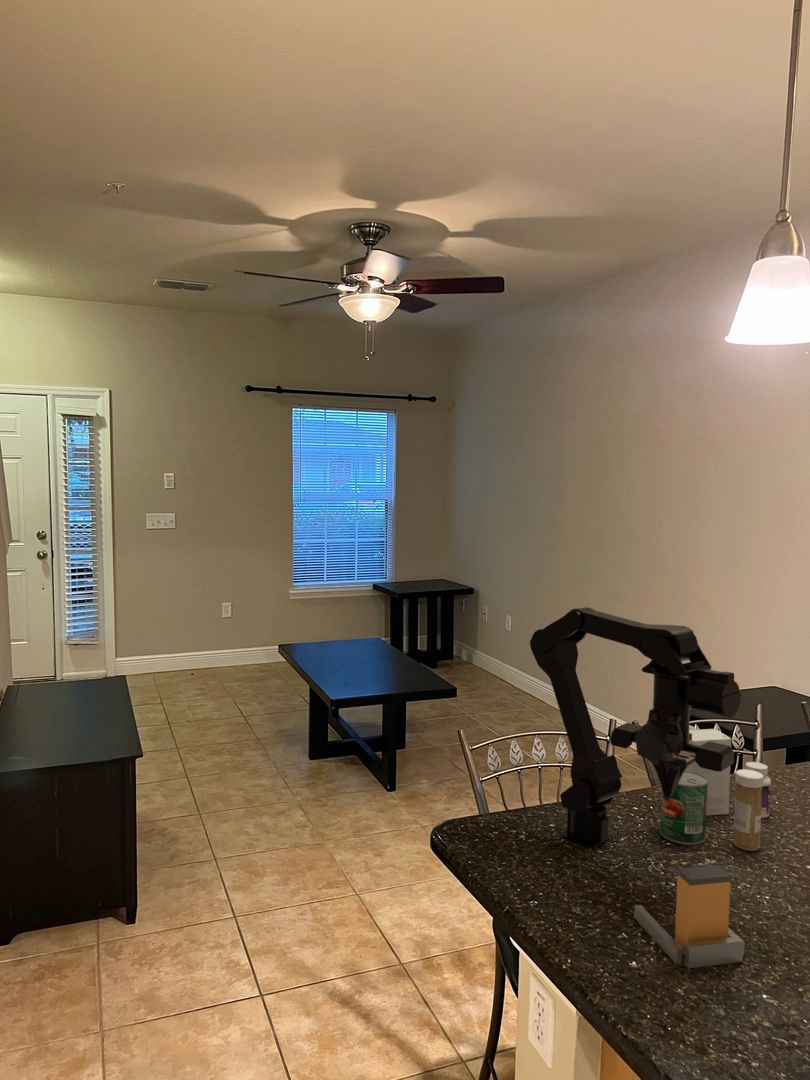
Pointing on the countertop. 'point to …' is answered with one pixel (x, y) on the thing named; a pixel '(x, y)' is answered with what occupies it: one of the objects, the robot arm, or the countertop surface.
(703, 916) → the tan tall block
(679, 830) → the canned tomato
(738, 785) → the sprinkles bottle
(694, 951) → the gray rectangular tray
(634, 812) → the countertop surface
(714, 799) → the skincare box
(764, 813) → the pill bottle
